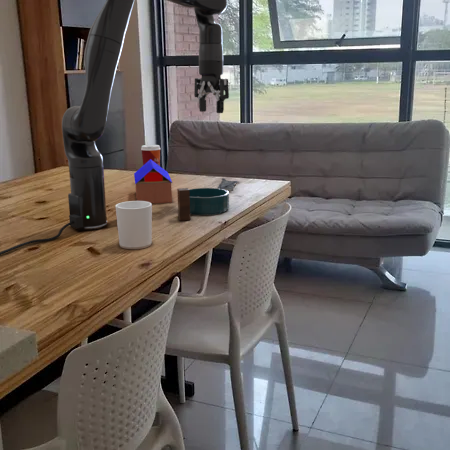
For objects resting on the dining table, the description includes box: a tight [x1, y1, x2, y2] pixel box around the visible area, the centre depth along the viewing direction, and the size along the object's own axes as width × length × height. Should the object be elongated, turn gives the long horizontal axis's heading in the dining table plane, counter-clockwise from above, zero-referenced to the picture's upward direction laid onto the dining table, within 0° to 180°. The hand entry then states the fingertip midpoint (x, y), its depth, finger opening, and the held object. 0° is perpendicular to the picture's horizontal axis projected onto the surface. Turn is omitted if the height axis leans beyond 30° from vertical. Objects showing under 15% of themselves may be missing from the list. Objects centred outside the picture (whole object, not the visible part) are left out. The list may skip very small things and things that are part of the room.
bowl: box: [188, 187, 230, 216], centre depth 184 cm, size 15×15×6 cm
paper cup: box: [140, 144, 162, 167], centre depth 229 cm, size 8×8×14 cm
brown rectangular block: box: [177, 187, 191, 222], centre depth 172 cm, size 3×3×9 cm
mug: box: [115, 200, 153, 250], centre depth 149 cm, size 11×9×10 cm
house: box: [133, 159, 173, 204], centre depth 202 cm, size 12×20×12 cm, turn 10°
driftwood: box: [217, 177, 239, 191], centre depth 218 cm, size 21×7×2 cm, turn 173°
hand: (211, 112), depth 187 cm, fingers open, 8 cm apart
